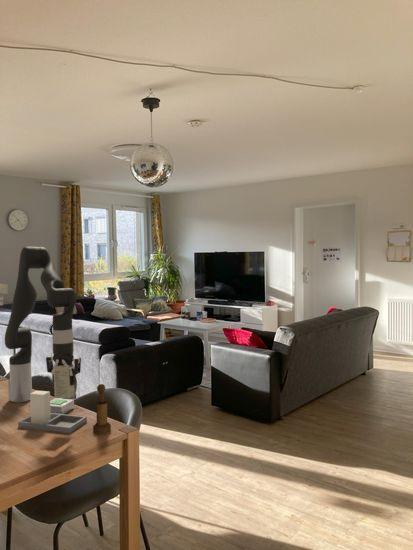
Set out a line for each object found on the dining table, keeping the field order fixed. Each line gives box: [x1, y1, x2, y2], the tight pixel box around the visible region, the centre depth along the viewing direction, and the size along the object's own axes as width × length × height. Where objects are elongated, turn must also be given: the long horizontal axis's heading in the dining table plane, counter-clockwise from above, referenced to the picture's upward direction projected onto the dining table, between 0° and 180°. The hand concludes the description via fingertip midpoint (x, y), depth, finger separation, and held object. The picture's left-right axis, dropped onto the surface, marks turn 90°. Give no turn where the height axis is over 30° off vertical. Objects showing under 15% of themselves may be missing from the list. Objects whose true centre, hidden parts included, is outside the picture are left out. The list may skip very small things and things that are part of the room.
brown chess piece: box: [92, 383, 112, 436], centre depth 171 cm, size 7×6×18 cm
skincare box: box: [53, 365, 75, 399], centre depth 173 cm, size 6×4×12 cm
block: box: [29, 390, 51, 424], centre depth 177 cm, size 6×4×12 cm, turn 74°
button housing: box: [50, 397, 75, 414], centre depth 191 cm, size 9×9×5 cm
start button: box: [50, 399, 67, 405], centre depth 191 cm, size 5×5×3 cm
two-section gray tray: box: [17, 413, 88, 434], centre depth 175 cm, size 22×12×4 cm, turn 74°
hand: (64, 384), depth 173 cm, fingers closed on skincare box, 6 cm apart
